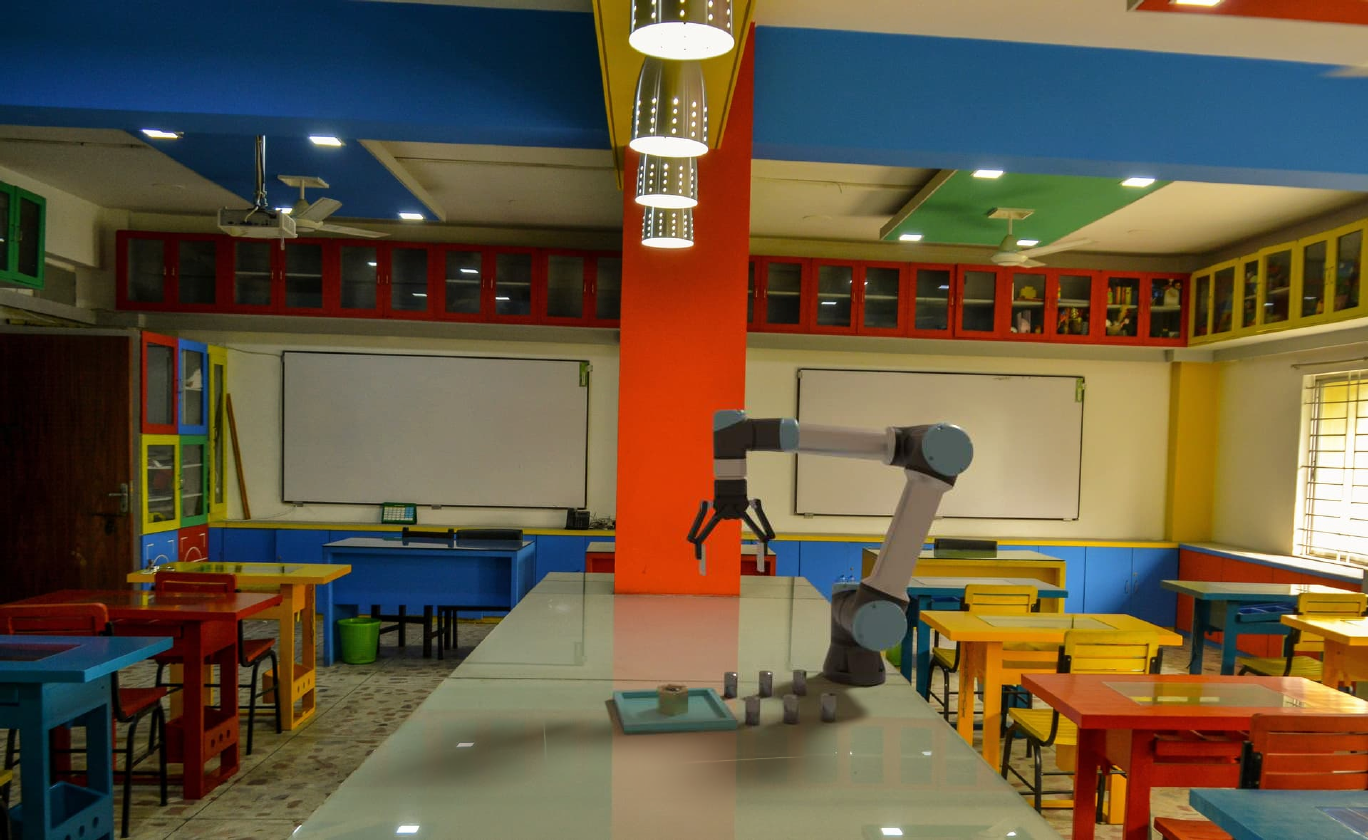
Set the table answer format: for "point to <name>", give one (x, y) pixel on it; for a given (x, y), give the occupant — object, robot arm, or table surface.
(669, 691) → the nut
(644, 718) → the tray
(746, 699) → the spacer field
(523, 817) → the table surface
